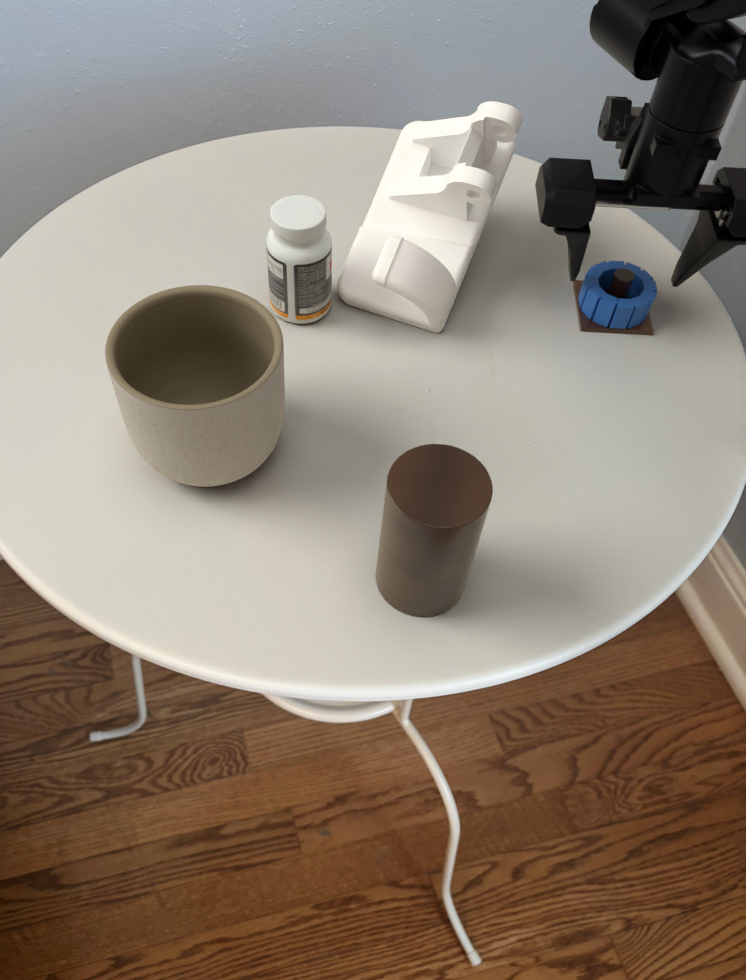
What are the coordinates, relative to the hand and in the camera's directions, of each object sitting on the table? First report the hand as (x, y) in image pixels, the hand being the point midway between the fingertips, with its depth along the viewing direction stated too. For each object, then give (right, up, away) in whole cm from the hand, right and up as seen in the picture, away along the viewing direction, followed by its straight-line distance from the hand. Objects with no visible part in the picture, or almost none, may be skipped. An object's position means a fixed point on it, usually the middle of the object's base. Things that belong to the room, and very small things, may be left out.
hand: (622, 280), depth 75 cm
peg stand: (0, -2, +3) cm, 3 cm away
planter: (-36, -16, -7) cm, 40 cm away
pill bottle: (-29, -2, +2) cm, 29 cm away
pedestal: (-20, -26, -14) cm, 36 cm away
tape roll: (0, -1, +2) cm, 3 cm away
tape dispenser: (-18, +3, +5) cm, 19 cm away
